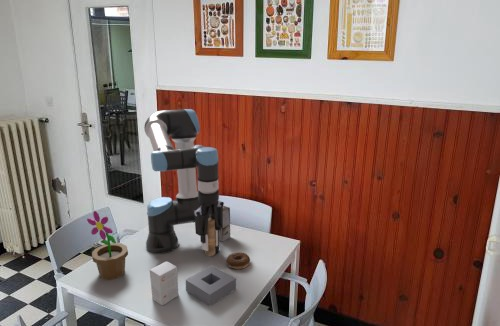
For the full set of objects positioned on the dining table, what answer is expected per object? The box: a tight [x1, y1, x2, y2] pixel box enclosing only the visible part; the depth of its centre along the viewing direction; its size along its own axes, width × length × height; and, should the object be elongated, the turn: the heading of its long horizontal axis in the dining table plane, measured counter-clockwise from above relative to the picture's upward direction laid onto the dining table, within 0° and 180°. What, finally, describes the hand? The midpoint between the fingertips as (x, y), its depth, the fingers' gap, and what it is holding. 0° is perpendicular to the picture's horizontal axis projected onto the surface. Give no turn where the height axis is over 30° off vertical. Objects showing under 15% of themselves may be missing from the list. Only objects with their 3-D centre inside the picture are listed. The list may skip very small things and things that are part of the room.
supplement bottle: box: [214, 236, 220, 256], centre depth 178 cm, size 7×7×12 cm
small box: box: [149, 261, 179, 307], centre depth 146 cm, size 8×6×13 cm
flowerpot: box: [86, 210, 129, 280], centre depth 159 cm, size 14×14×30 cm
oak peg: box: [204, 218, 216, 257], centre depth 146 cm, size 4×4×14 cm
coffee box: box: [209, 205, 231, 242], centre depth 192 cm, size 9×6×16 cm
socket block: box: [185, 264, 237, 307], centre depth 152 cm, size 14×14×5 cm
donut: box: [225, 251, 251, 270], centre depth 170 cm, size 11×11×4 cm
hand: (210, 247), depth 147 cm, fingers closed on oak peg, 4 cm apart
